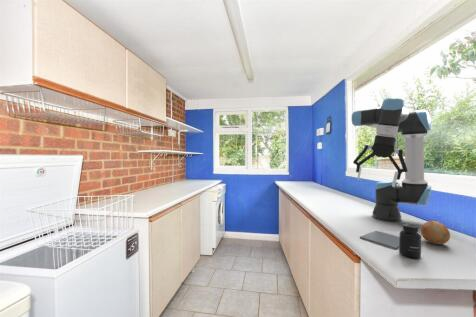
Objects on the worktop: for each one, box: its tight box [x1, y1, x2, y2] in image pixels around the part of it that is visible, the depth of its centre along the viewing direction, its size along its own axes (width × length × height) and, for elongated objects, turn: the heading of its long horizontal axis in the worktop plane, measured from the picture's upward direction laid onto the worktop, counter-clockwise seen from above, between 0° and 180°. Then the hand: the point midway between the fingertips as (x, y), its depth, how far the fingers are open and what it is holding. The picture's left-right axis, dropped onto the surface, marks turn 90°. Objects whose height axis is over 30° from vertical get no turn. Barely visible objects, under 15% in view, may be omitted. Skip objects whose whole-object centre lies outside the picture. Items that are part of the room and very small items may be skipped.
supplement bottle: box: [398, 223, 422, 260], centre depth 86 cm, size 7×7×12 cm
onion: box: [420, 220, 451, 245], centre depth 97 cm, size 10×10×10 cm
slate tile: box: [359, 230, 399, 250], centre depth 102 cm, size 15×15×1 cm
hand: (375, 182), depth 98 cm, fingers open, 13 cm apart
